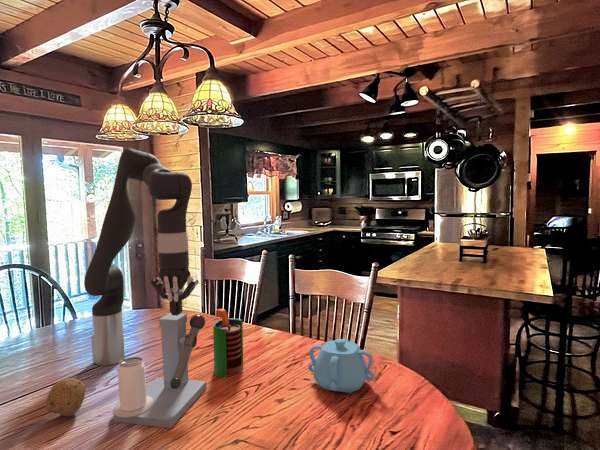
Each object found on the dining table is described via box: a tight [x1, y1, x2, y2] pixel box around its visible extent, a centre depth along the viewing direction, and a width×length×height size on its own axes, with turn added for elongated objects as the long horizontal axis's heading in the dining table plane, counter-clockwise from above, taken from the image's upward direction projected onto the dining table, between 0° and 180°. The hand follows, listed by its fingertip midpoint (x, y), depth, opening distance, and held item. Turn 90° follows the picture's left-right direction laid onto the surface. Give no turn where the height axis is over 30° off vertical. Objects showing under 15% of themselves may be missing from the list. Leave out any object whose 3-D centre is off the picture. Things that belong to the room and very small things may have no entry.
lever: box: [170, 314, 206, 389], centre depth 108 cm, size 4×22×4 cm
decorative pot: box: [308, 338, 375, 394], centre depth 115 cm, size 16×16×14 cm
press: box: [112, 312, 207, 429], centre depth 106 cm, size 18×21×22 cm
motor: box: [212, 308, 244, 378], centre depth 126 cm, size 10×9×20 cm
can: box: [117, 356, 147, 412], centre depth 102 cm, size 6×6×12 cm
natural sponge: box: [44, 377, 86, 418], centre depth 102 cm, size 9×9×10 cm
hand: (176, 314), depth 102 cm, fingers closed
